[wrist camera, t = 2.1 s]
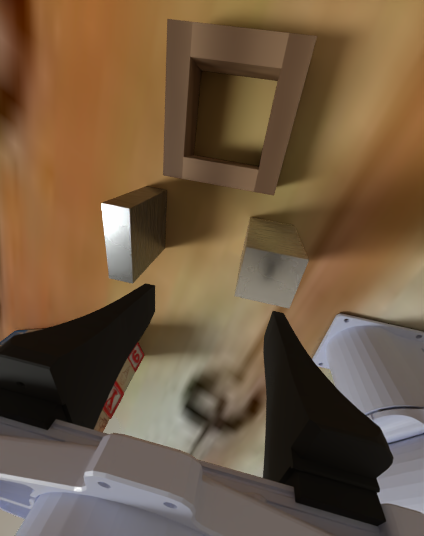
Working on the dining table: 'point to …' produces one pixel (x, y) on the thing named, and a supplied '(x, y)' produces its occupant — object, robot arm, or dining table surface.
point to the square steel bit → (271, 263)
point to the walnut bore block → (234, 63)
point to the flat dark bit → (134, 231)
